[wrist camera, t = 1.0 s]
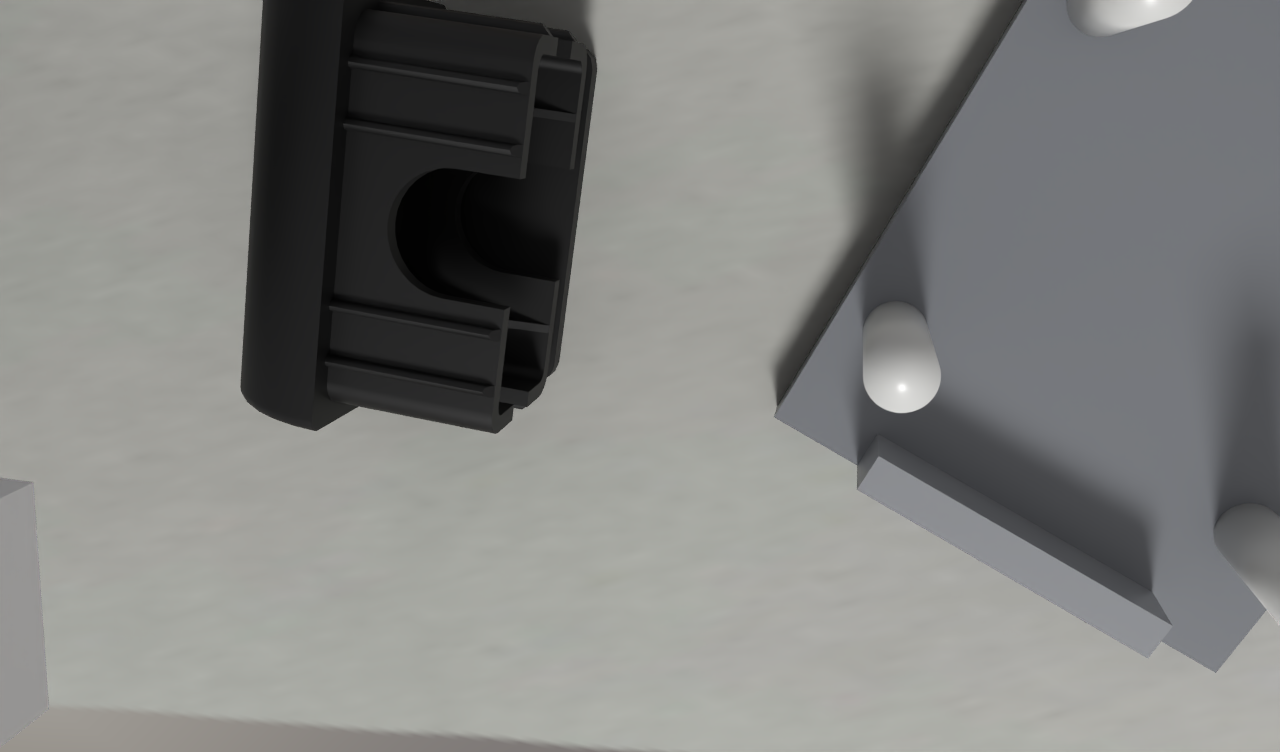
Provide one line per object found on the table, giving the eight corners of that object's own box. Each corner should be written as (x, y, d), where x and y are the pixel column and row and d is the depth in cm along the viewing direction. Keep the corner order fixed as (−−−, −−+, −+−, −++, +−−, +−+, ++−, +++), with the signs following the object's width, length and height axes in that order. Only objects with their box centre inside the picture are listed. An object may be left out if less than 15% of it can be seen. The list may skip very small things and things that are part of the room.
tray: (776, 407, 31) (757, 475, 25) (1125, -169, 26) (1199, -247, 21) (1204, 655, 30) (1285, 782, 24) (1639, 108, 26) (1864, 106, 20)
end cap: (348, -8, 31) (209, -40, 24) (603, 29, 30) (530, 5, 23) (320, 351, 33) (188, 409, 27) (555, 396, 32) (477, 468, 26)
